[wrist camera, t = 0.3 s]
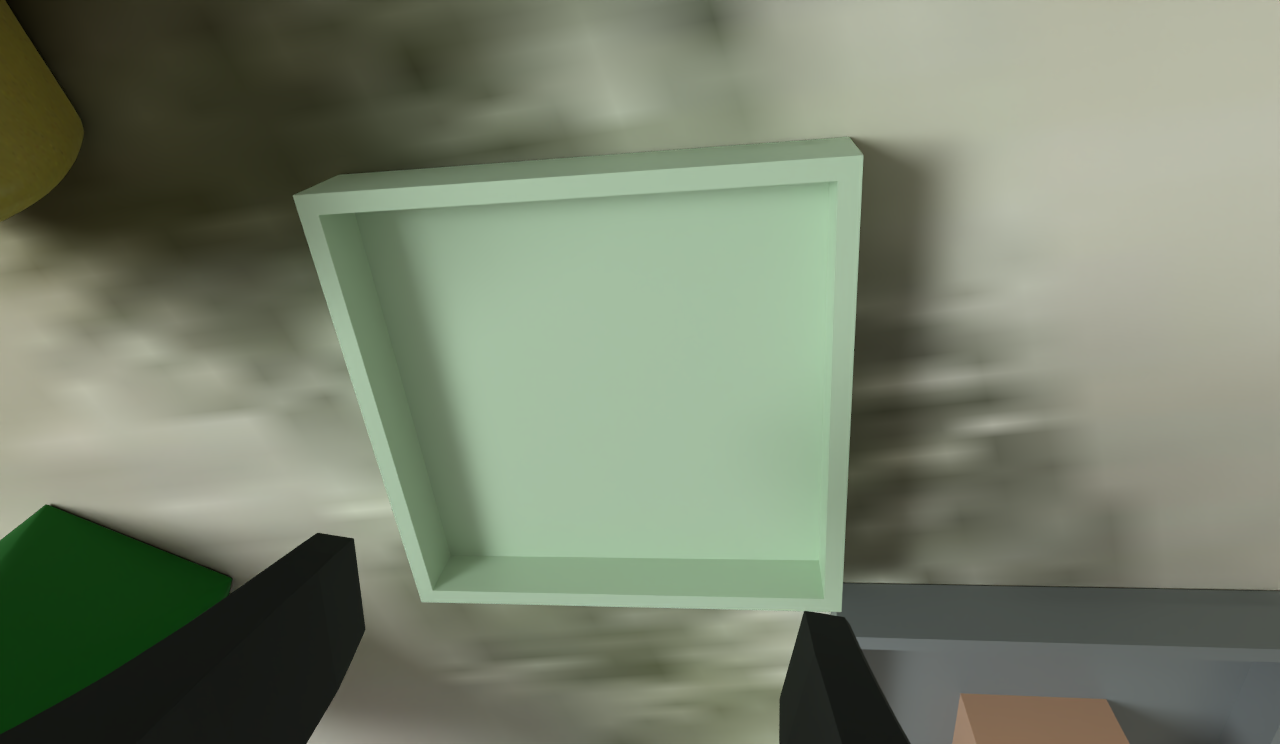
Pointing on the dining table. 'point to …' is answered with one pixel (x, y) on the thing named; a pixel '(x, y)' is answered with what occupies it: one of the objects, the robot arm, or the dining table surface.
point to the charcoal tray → (1077, 655)
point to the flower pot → (31, 122)
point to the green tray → (606, 370)
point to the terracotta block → (1035, 720)
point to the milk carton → (85, 607)
